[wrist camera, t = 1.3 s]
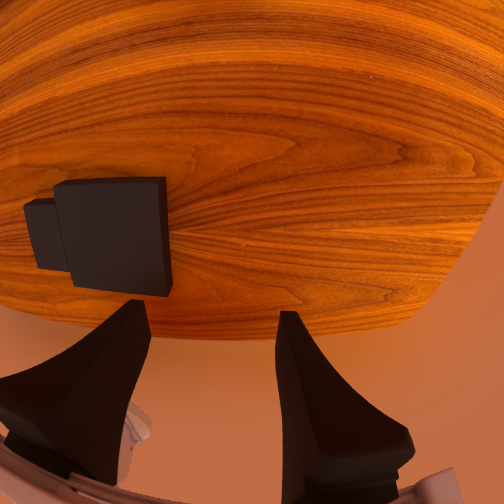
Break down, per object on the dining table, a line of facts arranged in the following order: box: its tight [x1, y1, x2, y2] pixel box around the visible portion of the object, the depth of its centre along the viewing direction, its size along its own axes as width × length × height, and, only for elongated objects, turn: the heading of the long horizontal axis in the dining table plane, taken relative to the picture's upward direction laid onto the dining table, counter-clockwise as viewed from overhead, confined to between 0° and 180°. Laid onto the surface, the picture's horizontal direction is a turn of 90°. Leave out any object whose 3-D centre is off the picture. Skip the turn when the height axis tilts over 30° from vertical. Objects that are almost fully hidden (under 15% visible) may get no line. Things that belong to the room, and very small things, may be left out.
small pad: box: [23, 177, 173, 297], centre depth 18 cm, size 8×12×2 cm
